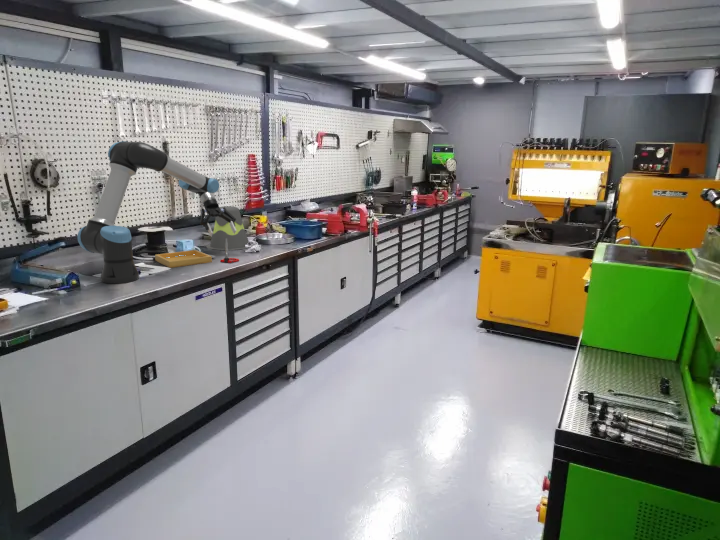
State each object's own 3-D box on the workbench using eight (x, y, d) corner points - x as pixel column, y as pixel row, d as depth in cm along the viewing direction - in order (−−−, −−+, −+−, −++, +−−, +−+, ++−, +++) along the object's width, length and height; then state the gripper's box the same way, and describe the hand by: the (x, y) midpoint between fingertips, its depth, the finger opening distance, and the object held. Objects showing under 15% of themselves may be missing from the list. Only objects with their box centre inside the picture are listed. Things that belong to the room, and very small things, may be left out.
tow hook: (228, 259, 258) (218, 262, 250) (227, 236, 256) (218, 237, 247) (242, 261, 256) (232, 263, 247) (241, 237, 254) (232, 239, 245)
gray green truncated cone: (196, 248, 283) (194, 207, 278) (222, 240, 309) (221, 203, 304) (237, 252, 276) (236, 210, 270) (261, 243, 302) (260, 205, 296)
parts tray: (169, 268, 235) (169, 261, 234) (155, 260, 249) (154, 254, 248) (212, 262, 249) (211, 256, 248) (196, 255, 264) (195, 249, 263)
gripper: (228, 205, 274) (242, 235, 267) (185, 208, 257) (199, 239, 250) (232, 197, 269) (246, 226, 262) (189, 199, 252) (203, 231, 245)
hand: (223, 233), depth 256 cm, fingers open, 13 cm apart
